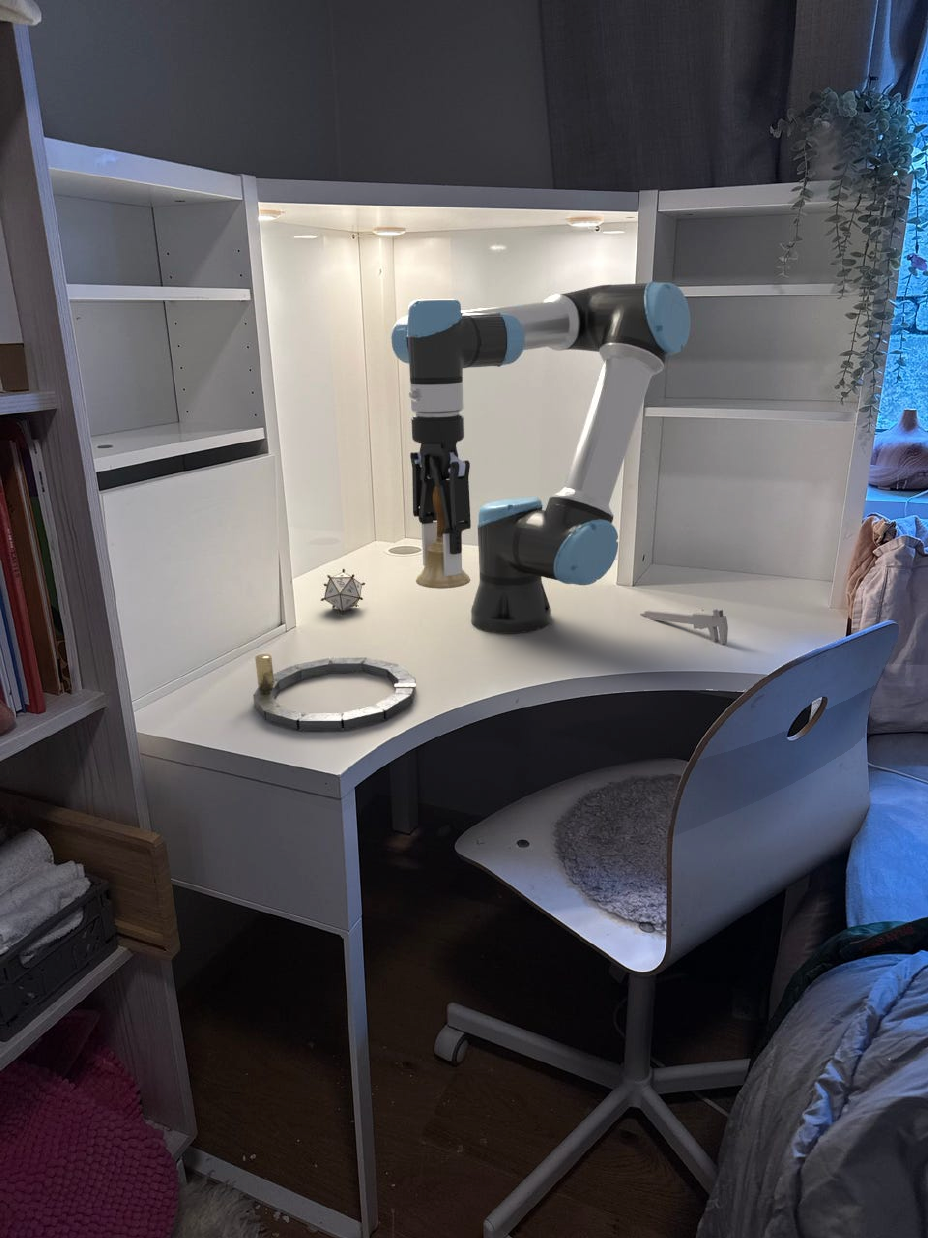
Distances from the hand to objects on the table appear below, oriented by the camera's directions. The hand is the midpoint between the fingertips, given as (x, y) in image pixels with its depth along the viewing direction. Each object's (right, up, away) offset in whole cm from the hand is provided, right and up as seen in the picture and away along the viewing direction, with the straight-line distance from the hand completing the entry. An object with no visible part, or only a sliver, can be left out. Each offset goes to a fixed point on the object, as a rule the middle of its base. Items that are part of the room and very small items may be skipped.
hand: (442, 568), depth 135 cm
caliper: (+43, -10, +27) cm, 52 cm away
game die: (-21, -6, +43) cm, 48 cm away
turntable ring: (-16, -20, +2) cm, 26 cm away
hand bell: (0, -2, +1) cm, 2 cm away
